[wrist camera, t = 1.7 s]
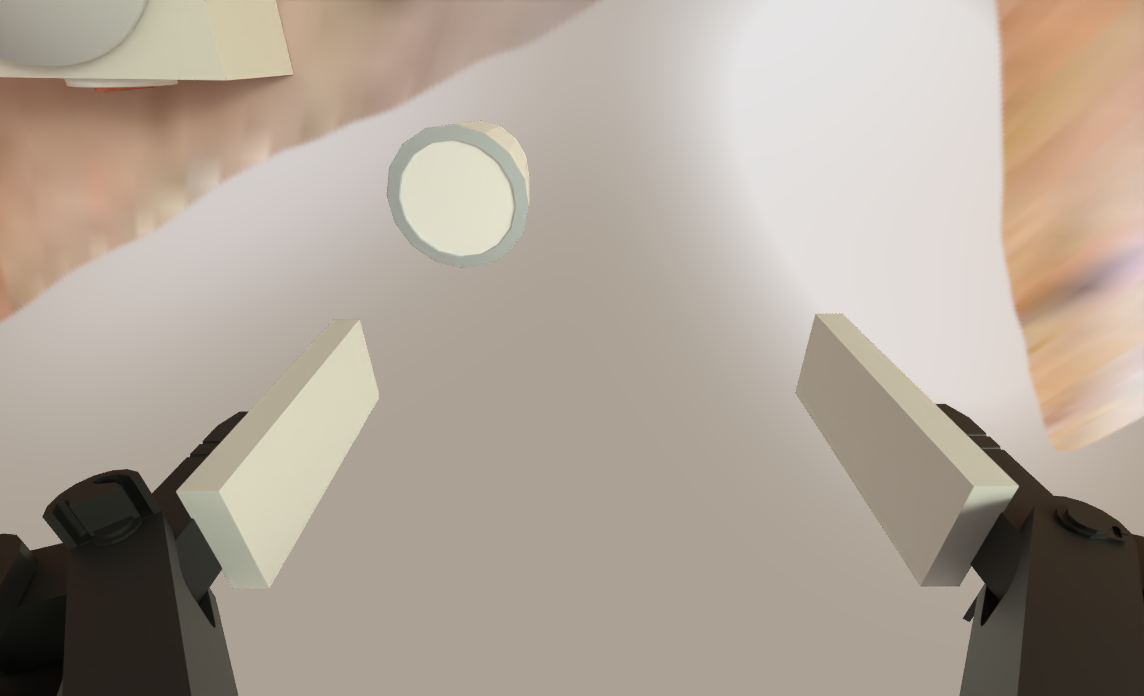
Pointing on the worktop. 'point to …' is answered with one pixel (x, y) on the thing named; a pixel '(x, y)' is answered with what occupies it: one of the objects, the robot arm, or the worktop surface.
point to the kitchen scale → (141, 41)
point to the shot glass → (460, 192)
